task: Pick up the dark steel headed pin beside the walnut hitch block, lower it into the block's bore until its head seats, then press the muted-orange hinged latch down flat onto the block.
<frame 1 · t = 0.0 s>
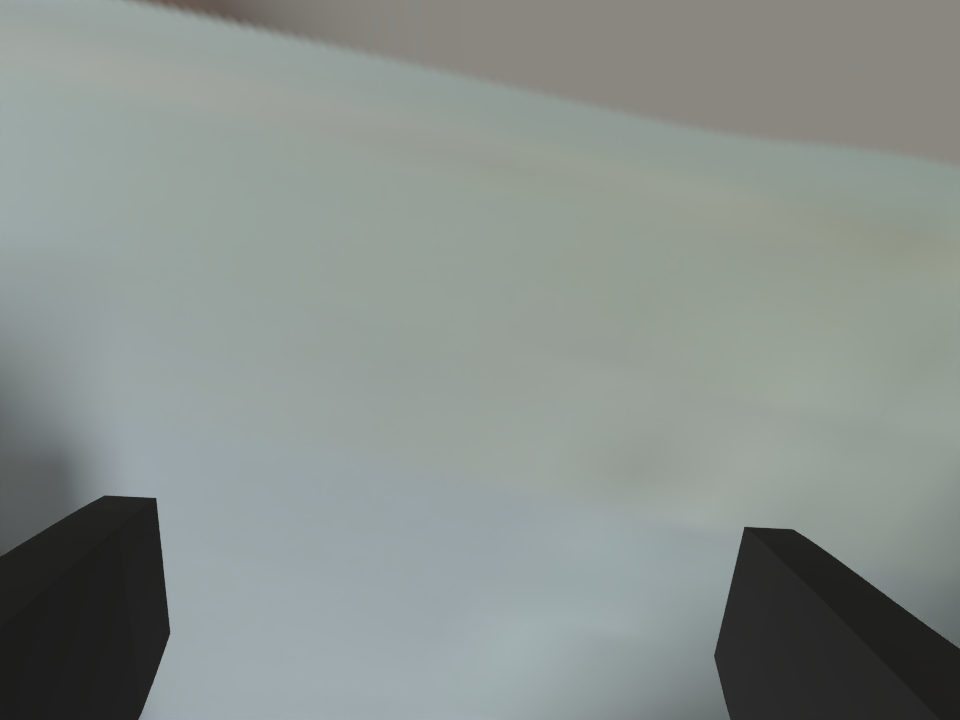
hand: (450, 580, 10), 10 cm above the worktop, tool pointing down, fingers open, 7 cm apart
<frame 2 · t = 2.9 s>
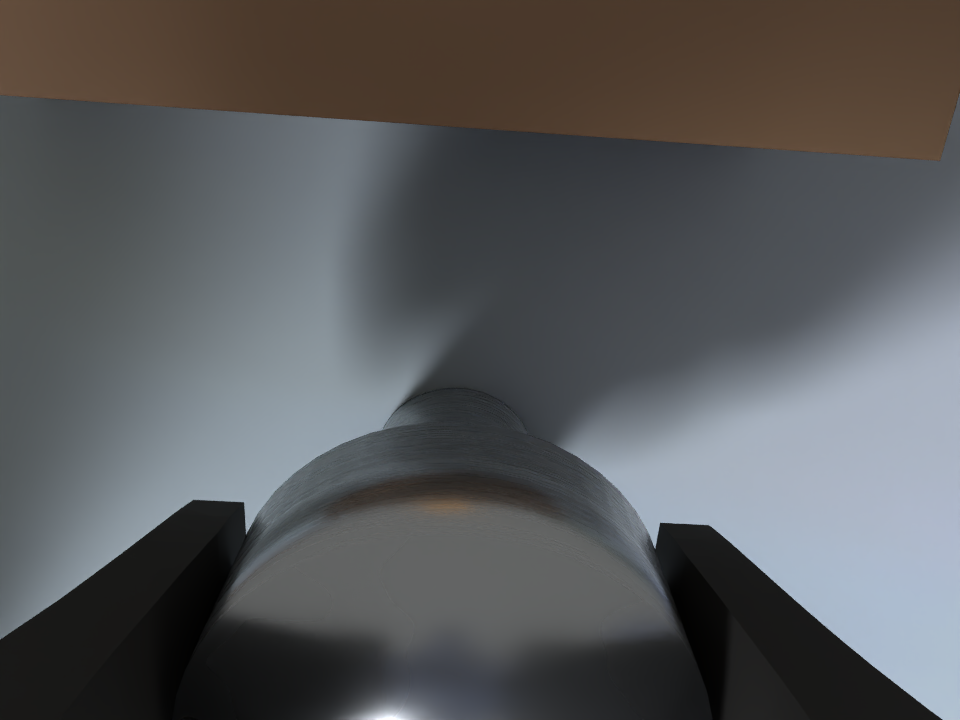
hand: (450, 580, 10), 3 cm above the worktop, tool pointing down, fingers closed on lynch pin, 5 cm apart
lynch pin: (454, 459, 12), on the worktop, touching gripper
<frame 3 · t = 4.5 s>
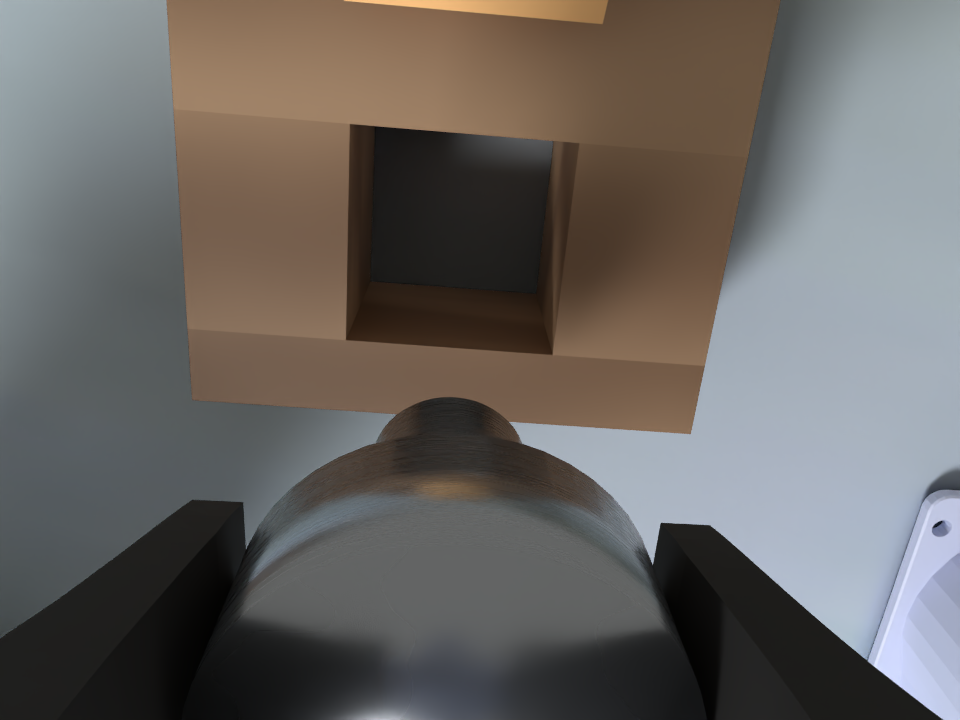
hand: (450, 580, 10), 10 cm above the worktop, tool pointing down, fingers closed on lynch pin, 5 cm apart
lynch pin: (449, 466, 13), point 7 cm above the worktop, touching gripper
hitch block: (469, 66, 17), on the worktop
when the fingers open (5 cm above the worktop, at t = 6.2 s): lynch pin drops 1 cm, resting on hitch block.
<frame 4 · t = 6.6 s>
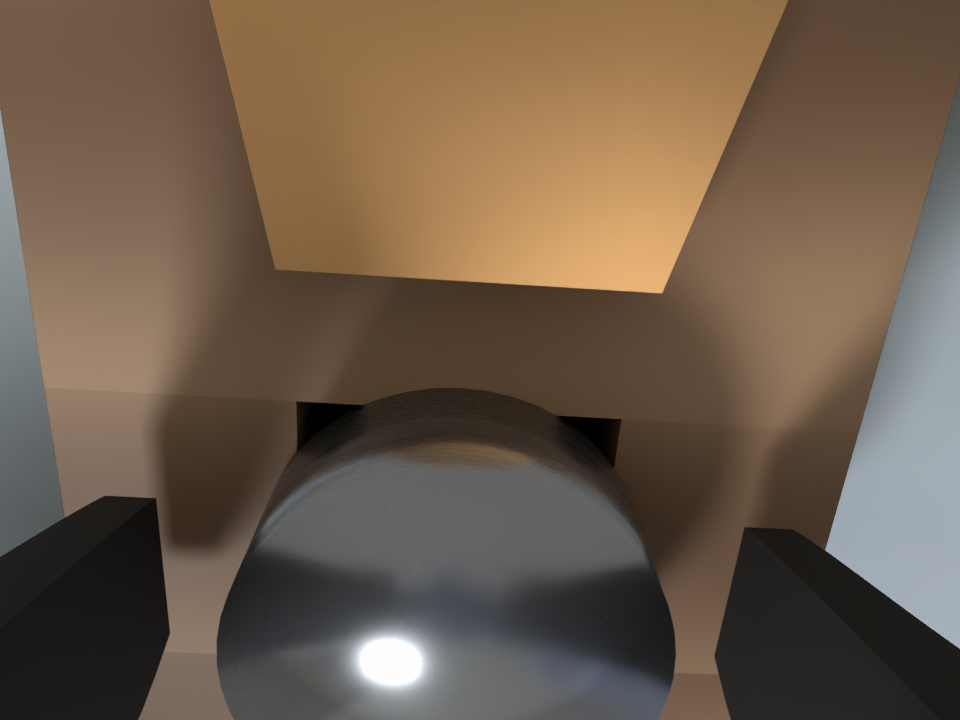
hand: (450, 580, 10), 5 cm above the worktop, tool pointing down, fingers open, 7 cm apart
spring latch: (491, 32, 6), point 6 cm above the worktop, hinge at 35.0°
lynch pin: (454, 432, 14), resting on hitch block
hitch block: (465, 250, 13), on the worktop
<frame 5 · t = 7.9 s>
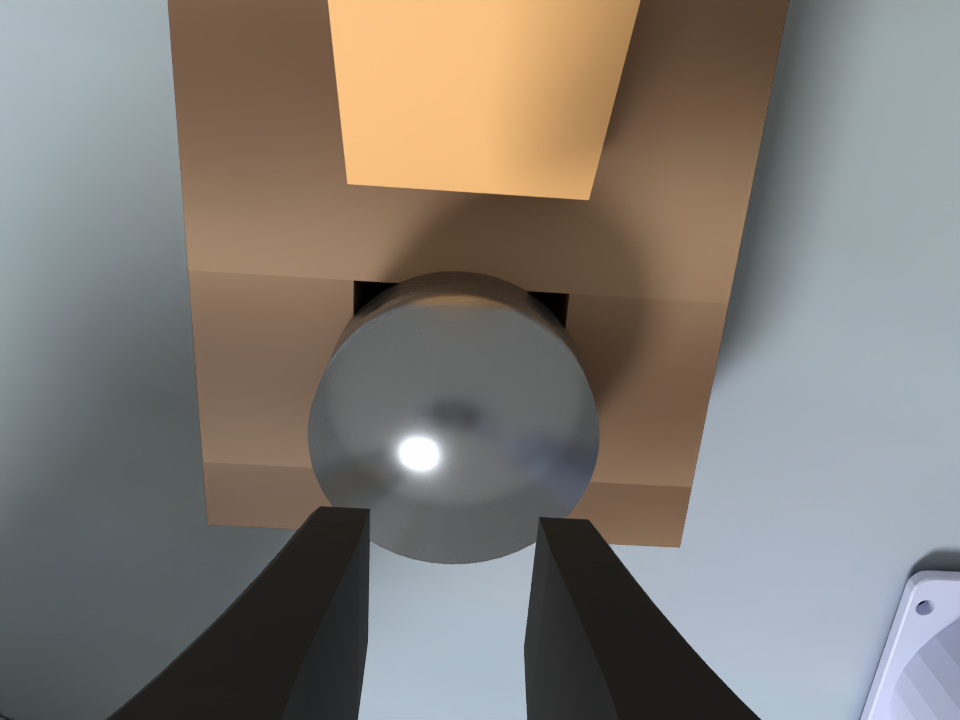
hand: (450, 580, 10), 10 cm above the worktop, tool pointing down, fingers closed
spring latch: (479, 37, 11), point 6 cm above the worktop, hinge at 35.0°
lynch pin: (457, 331, 18), resting on hitch block
hitch block: (465, 193, 18), on the worktop
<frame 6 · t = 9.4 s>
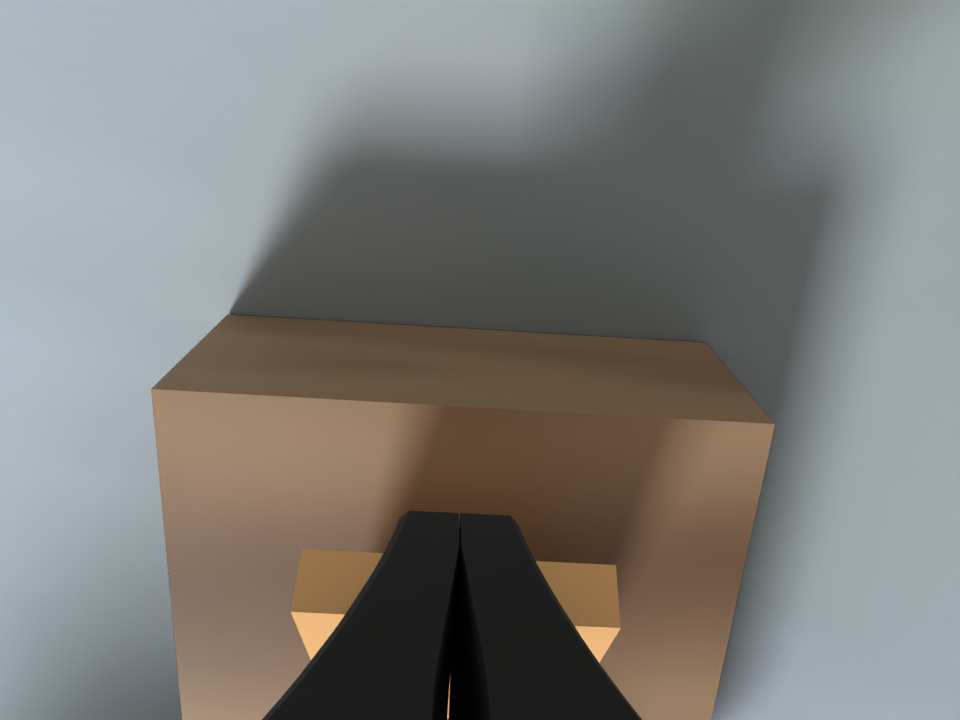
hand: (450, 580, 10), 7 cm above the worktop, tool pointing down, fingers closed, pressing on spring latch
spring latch: (452, 650, 12), point 6 cm above the worktop, hinge at 32.5°, touching gripper
hitch block: (453, 587, 18), on the worktop
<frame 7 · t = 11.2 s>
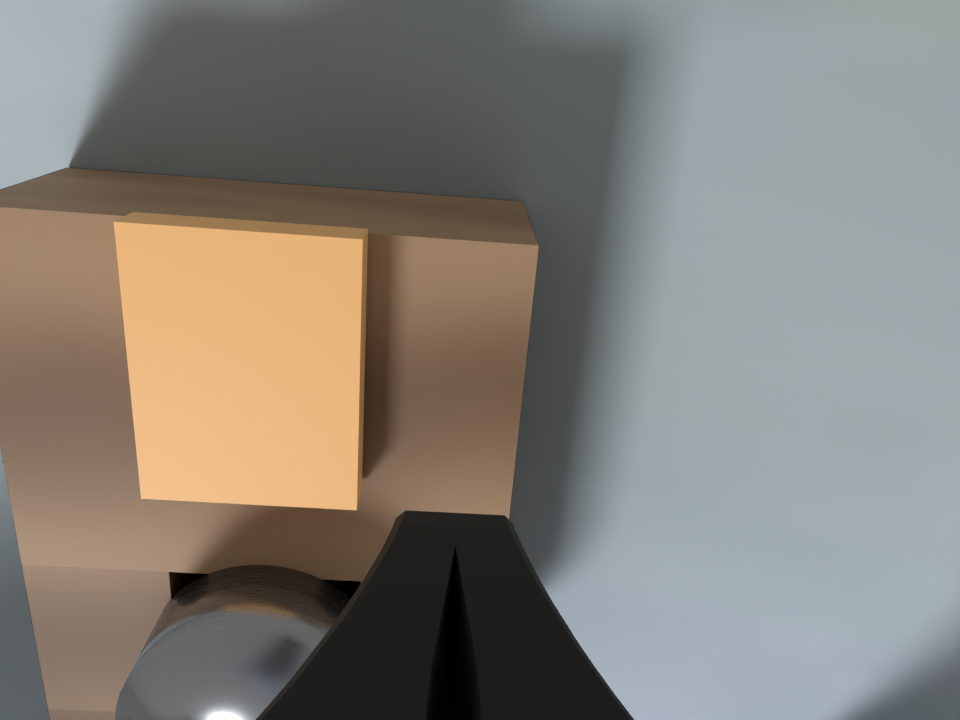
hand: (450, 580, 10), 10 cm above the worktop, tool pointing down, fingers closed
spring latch: (250, 368, 14), point 5 cm above the worktop, hinge at -0.7°
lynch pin: (299, 556, 20), resting on hitch block
hitch block: (301, 443, 20), on the worktop
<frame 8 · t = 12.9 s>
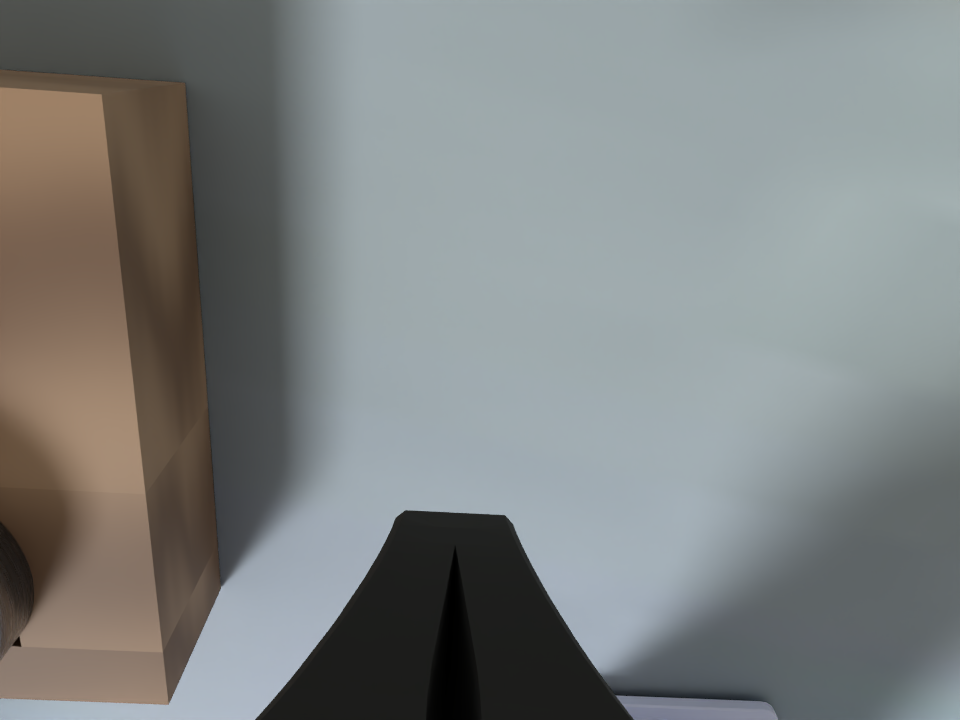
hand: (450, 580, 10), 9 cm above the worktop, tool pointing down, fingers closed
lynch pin: (5, 482, 19), resting on hitch block
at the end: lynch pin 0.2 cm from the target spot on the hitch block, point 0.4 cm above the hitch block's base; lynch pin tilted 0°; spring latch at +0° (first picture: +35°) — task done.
